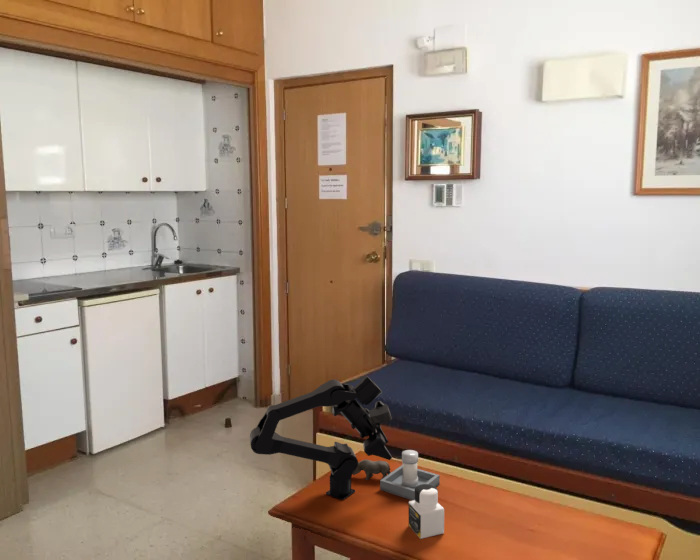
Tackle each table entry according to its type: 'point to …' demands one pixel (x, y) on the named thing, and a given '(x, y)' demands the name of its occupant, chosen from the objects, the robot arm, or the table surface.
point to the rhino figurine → (372, 468)
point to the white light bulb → (410, 468)
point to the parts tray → (394, 486)
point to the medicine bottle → (426, 512)
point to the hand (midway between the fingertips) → (388, 450)
